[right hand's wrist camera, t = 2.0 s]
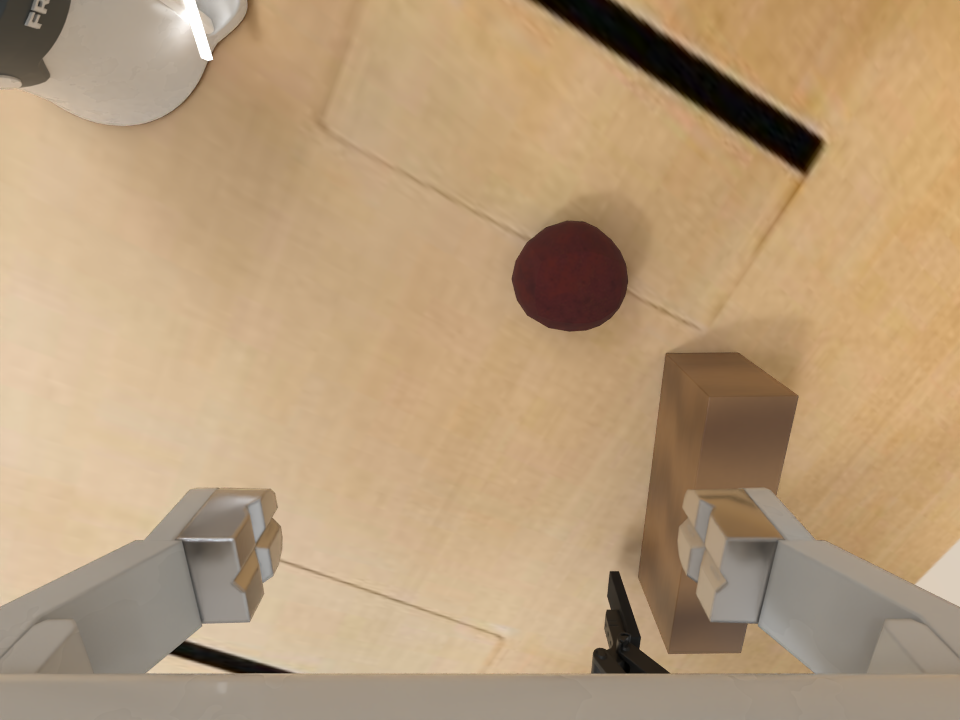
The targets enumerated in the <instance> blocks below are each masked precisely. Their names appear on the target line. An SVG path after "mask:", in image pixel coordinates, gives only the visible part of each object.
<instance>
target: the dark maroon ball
mask: <svg viewBox="0 0 960 720" xmlns="http://www.w3.org/2000/svg"><path fill="white" fill-rule="evenodd" d="M512 282H513V287H514V291H515V295H516V298H517V301H518V302H519V304H520V305H521V307H522V308H523V310H524V311H525V313H526V314H527V316H529V317H531V318H533V319H535V320H536V321H538V322H540V323H541V324H543V325H545V326H546V327H548V328H552V329H558V330H564V331H584V330H589V329H592V328H594V327H597V326H600V325H601V324H603V323H604V322H606V321H607V320H609V319H610V318H611V317H612V316H613V315H614V314H615V312H616V311H617V310H618V309H619V308H620V306H621V304H622V301H623V299H624V297H625V295H626V290H627V284H628V277H627V268H626V263H625V261H624V259H623V256H622V254H621V252H620V250H619V249H618V248H617V246H616V245H615V244H614V243H613V241H612V240H611V239H610V238H608V237H607V236H606V235H605V234H604V233H603V232H601V231H600V230H599V229H598V228H597V227H594V226H592V225H590V224H588V223H586V222H579V221H565V222H562V223H558V224H555V225H552V226H549V227H546V228H545V229H544V230H542V231H541V232H540V233H538V234H537V235H536V236H535V237H533V238H532V239H531V240H529V241H528V242H527V243H526V245H525V247H524V248H523V250H522V251H521V253H520V255H519V256H518V258H517V260H516V262H515V266H514V271H513V275H512Z"/></svg>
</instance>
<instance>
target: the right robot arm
mask: <svg viewBox="0 0 960 720" xmlns="http://www.w3.org/2000/svg"><path fill="white" fill-rule="evenodd" d="M247 6H248V3H247V0H0V90H10V89H18V90H21V91H24V92H27V93H30V94H33V95H36V96H38V97H41V98H43V99H45V100H48V101H50V102H52V103H54V104H55V105H57V106H58V107H60V108H62V109H64V110H65V111H67V112H69V113H71V114H73V115H75V116H78V117H80V118H83V119H86V120H89V121H92V122H96V123H100V124H105V125H113V126H132V125H139V124H144V123H148V122H151V121H154V120H156V119H159V118H161V117H163V116H165V115H167V114H168V113H170V112H171V111H173V110H174V109H175V108H177V107H178V106H179V105H180V104H181V103H182V102H184V101H185V100H186V98H187V97H188V96H189V95H190V94H191V92H192V91H193V90H194V88H195V87H196V85H197V84H198V82H199V80H200V78H201V76H202V74H203V72H204V70H205V67H206V65H207V63H208V60H213V58H212V55H211V53H212V52H213V50H214V48H215V46H216V45H217V43H218V42H220V41H221V40H222V39H223V38H224V37H226V36H227V35H228V34H229V33H230V32H231V31H233V30H234V29H235V28H236V27H237V26H238V25H239V24H240V22H241V21H242V20H243V18H244V17H245V15H246V12H247ZM277 508H278V506H277V501H276V496H275V493H274V492H273V491H272V490H271V489H255V488H194V489H191V490H189V491H188V492H187V493H186V494H185V495H184V497H183V498H182V499H181V500H180V501H179V502H178V503H177V504H176V505H175V507H174V508H173V509H172V510H171V511H170V512H169V513H168V514H167V515H166V516H165V518H164V519H163V520H162V521H161V522H160V523H159V524H158V525H157V526H156V527H155V529H154V530H153V531H152V532H151V533H150V534H149V535H148V536H147V537H146V538H145V540H135V541H133V542H131V543H129V544H127V545H125V546H123V547H121V548H119V549H117V550H115V551H113V552H111V553H109V554H107V555H105V556H103V557H101V558H99V559H97V560H95V561H92V562H90V563H88V564H86V565H84V566H82V567H80V568H78V569H76V570H74V571H72V572H70V573H68V574H66V575H64V576H62V577H60V578H58V579H56V580H54V581H52V582H50V583H48V584H46V585H44V586H42V587H40V588H38V589H36V590H34V591H32V592H30V593H28V594H25V595H23V596H21V597H19V598H17V599H15V600H13V601H11V602H9V603H7V604H5V605H3V606H1V607H0V720H960V607H959V606H957V605H954V604H952V603H950V602H948V601H946V600H944V599H942V598H940V597H938V596H936V595H934V594H932V593H930V592H928V591H926V590H924V589H922V588H920V587H918V586H916V585H914V584H912V583H910V582H908V581H906V580H904V579H902V578H900V577H898V576H896V575H894V574H892V573H890V572H888V571H886V570H884V569H882V568H880V567H878V566H876V565H873V564H871V563H869V562H867V561H865V560H863V559H861V558H859V557H857V556H855V555H853V554H851V553H849V552H847V551H845V550H843V549H841V548H839V547H837V546H835V545H833V544H831V543H829V542H827V541H825V540H815V538H814V537H813V536H812V535H811V534H810V533H809V532H808V531H807V530H806V529H805V527H804V526H803V525H802V524H801V523H800V522H799V521H798V520H797V519H796V518H795V516H794V515H793V514H792V513H791V512H790V511H789V510H788V509H787V508H786V506H785V505H784V504H783V503H782V502H781V501H780V500H779V499H778V498H777V497H776V495H775V494H774V493H773V492H772V491H771V490H769V489H767V488H765V487H759V488H739V489H691V490H687V491H686V494H685V496H684V500H683V506H682V508H683V510H684V511H685V513H686V515H687V517H688V518H687V519H686V520H685V521H684V522H683V523H682V524H681V525H680V526H679V532H678V540H677V542H678V552H679V558H680V561H681V565H682V567H683V569H684V571H685V573H686V575H687V576H688V577H689V578H691V579H692V580H693V581H695V582H696V583H697V589H696V595H697V597H698V599H699V601H700V603H701V605H702V607H703V609H704V611H705V613H706V615H707V617H708V619H709V620H710V622H720V623H755V624H758V626H759V627H760V628H761V629H762V630H763V631H765V632H766V633H767V634H768V635H769V636H771V637H772V638H773V639H774V640H775V641H777V642H778V643H779V644H780V645H781V646H783V647H784V648H785V649H786V650H787V651H789V652H790V653H791V654H792V655H793V656H795V657H796V658H797V659H798V660H799V661H801V662H802V663H803V664H804V665H805V666H807V667H808V668H809V669H810V670H811V671H813V672H814V673H815V674H145V673H146V672H148V671H149V670H150V669H151V668H152V667H154V666H155V665H156V664H157V663H158V662H160V661H161V660H162V659H163V658H164V657H166V656H167V655H168V654H169V653H170V652H172V651H173V650H174V649H175V648H176V647H178V646H179V645H180V644H181V643H182V642H184V641H185V640H186V639H187V638H188V637H190V636H191V635H192V634H193V633H194V632H196V631H197V630H198V629H199V628H200V627H202V624H205V623H239V622H250V621H251V619H252V617H253V615H254V613H255V611H256V609H257V607H258V605H259V603H260V601H261V599H262V597H263V595H264V589H263V583H264V582H265V581H267V580H268V579H269V578H271V577H272V576H273V575H274V573H275V571H276V569H277V567H278V565H279V561H280V557H281V552H282V531H281V526H280V525H279V524H278V523H277V522H276V521H275V520H274V519H273V518H272V517H273V515H274V513H275V511H276V510H277Z"/></svg>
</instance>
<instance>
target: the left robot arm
mask: <svg viewBox="0 0 960 720" xmlns="http://www.w3.org/2000/svg"><path fill="white" fill-rule="evenodd" d="M607 597H608V600H609V604H610V607H611V610H607V611H606V617H605V627H604V629H605V633H606V637H607V641H608V644H609V648H610V649H608V650H606V649H603V648H597V649H595V650H594V652H593V660H592V670H591V674H671V673H669V672H668V671H667V670H665V669H664V668H663V667H661V666H660V665H659V664H658V663H656V662H655V661H654V660H652V659H651V658H650V657H648V656H647V655H646V654H645V653H643V652H642V651H641V650H639V647H640V640H641V636H640V633H639V630H638V627H637V624H636V621H635V618H634V615H633V612H632V609H631V606H630V603H629V600H628V597H627V594H626V591H625V588H624V585H623V582H622V579H621V576H620V573H619V571H610V575H609V584H608V594H607Z"/></svg>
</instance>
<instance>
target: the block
mask: <svg viewBox="0 0 960 720" xmlns="http://www.w3.org/2000/svg"><path fill="white" fill-rule="evenodd" d="M797 401H798V395H797V394H795V393H794V392H792V391H791V390H790V389H788V388H787V387H785V386H784V385H783V384H781V383H780V382H779V381H777V380H776V379H774V378H773V377H772V376H770V375H769V374H767V373H766V372H765V371H763V370H762V369H760V368H759V367H758V366H756V365H755V364H753V363H752V362H751V361H749V360H748V359H746V358H745V357H744V356H742V355H741V354H739V353H666V356H665V364H664V372H663V380H662V388H661V396H660V404H659V412H658V420H657V428H656V437H655V445H654V453H653V461H652V469H651V477H650V485H649V493H648V501H647V509H646V517H645V525H644V533H643V541H642V550H641V558H640V566H639V574H638V578H639V581H640V583H641V586H642V588H643V591H644V593H645V596H646V598H647V601H648V604H649V606H650V609H651V611H652V614H653V616H654V619H655V621H656V624H657V626H658V629H659V631H660V634H661V636H662V639H663V642H664V644H665V647H666V649H667V652H668V654H699V653H741V650H742V646H743V641H744V637H745V632H746V628H747V623H720V622H710V620H709V619H708V617H707V615H706V613H705V611H704V609H703V607H702V605H701V603H700V601H699V599H698V597H697V595H696V589H697V583H696V582H695V581H693V580H692V579H691V578H689V577H688V576H687V575H686V573H685V571H684V569H683V567H682V565H681V561H680V558H679V552H678V542H677V540H678V532H679V526H680V525H681V524H682V523H683V522H684V521H685V520H686V519H687V518H688V517H687V515H686V513H685V511H684V510H683V508H682V506H683V500H684V496H685V494H686V491H687V490H691V489H739V488H759V487H765V488H767V489H769V490H771V491H772V492H773V493H774V494H775V495H776V494H777V490H778V485H779V481H780V477H781V472H782V468H783V463H784V459H785V454H786V450H787V445H788V441H789V437H790V432H791V428H792V423H793V419H794V414H795V410H796V405H797Z"/></svg>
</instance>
